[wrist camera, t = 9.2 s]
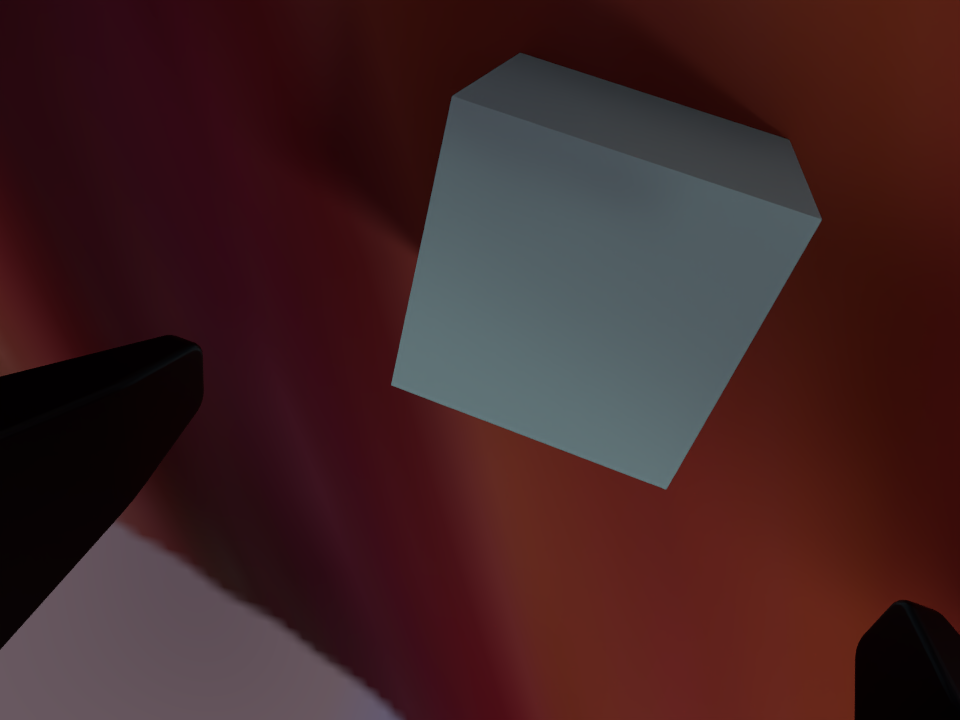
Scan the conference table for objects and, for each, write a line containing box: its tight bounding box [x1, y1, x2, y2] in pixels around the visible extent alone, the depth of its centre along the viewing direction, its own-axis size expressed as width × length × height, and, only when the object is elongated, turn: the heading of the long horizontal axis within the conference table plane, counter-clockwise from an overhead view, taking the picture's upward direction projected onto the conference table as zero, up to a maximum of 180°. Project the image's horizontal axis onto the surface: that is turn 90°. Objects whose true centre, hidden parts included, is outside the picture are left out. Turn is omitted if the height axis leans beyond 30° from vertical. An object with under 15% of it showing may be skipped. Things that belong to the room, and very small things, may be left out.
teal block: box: [391, 53, 822, 489], centre depth 14 cm, size 6×6×5 cm
